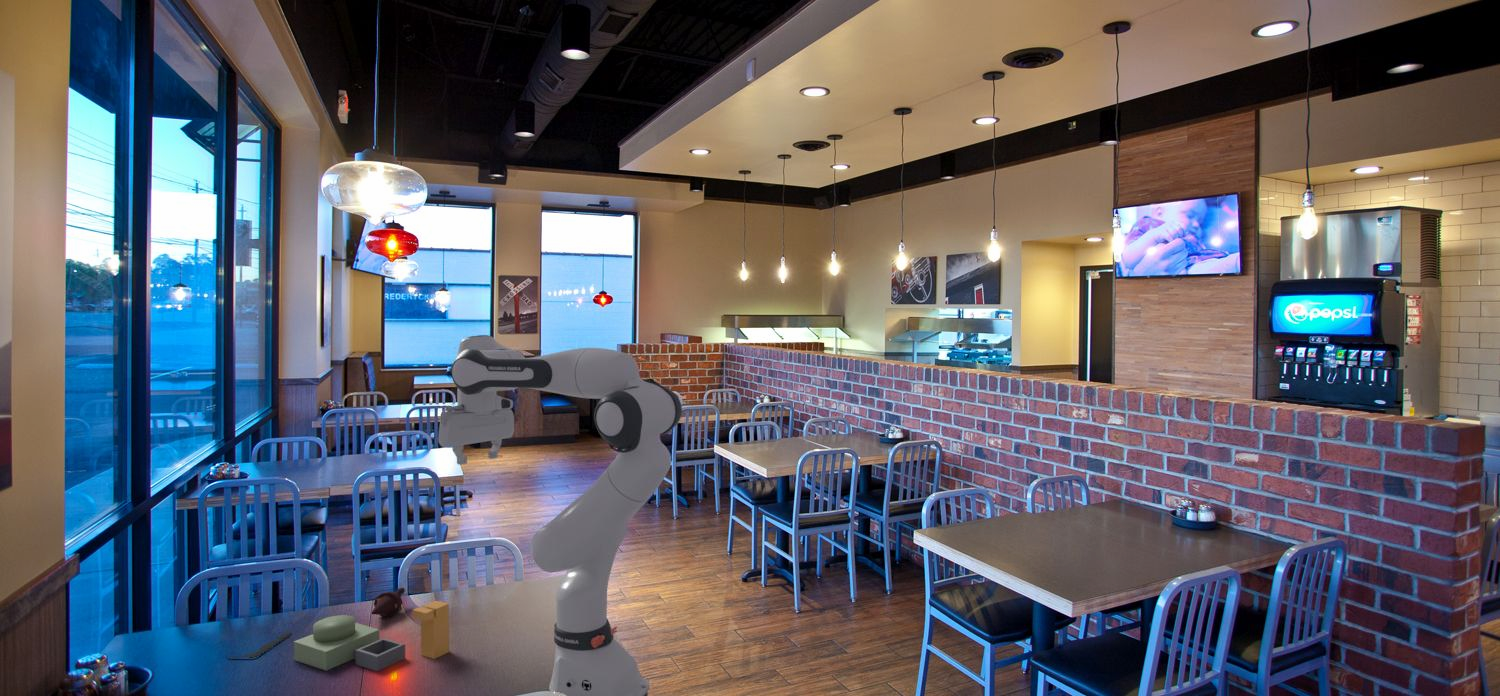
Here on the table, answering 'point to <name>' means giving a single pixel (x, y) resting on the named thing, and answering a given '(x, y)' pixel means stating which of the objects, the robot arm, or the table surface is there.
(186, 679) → the table surface
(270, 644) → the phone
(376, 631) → the green and grey blocks
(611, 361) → the robot arm
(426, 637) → the tall tan cardboard block
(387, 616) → the dark brown rounded piece
